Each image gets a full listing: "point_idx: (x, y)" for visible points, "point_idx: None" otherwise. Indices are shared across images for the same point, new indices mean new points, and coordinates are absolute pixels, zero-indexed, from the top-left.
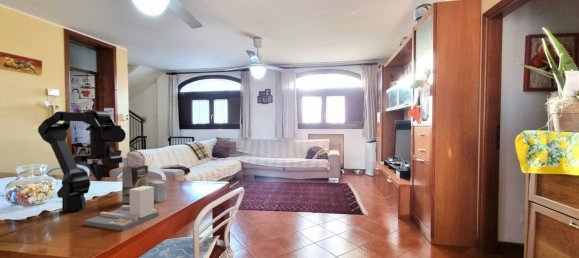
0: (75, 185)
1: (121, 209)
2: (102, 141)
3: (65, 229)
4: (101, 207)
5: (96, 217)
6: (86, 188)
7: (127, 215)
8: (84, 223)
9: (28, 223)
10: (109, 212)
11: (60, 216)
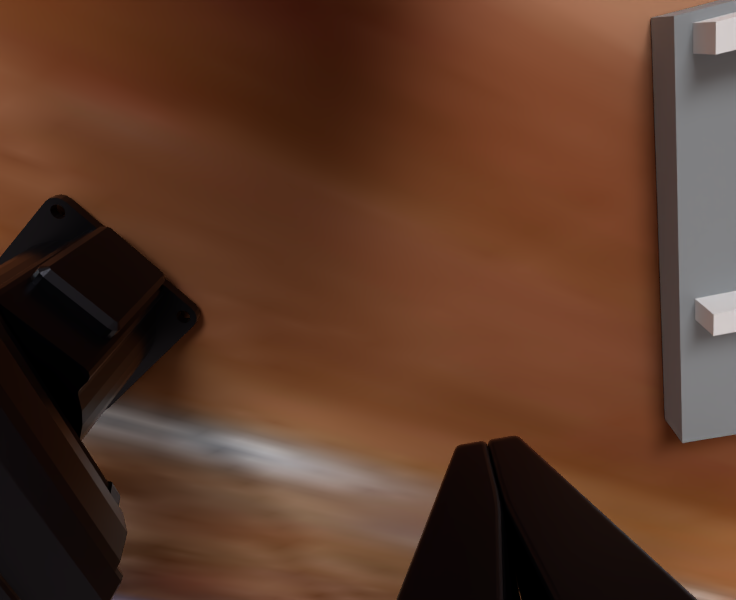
0: (95, 589)
1: (724, 74)
2: None
3: (625, 511)
4: (213, 91)
5: (710, 360)
6: (11, 345)
7: None
8: (672, 426)
9: (232, 574)
10: (685, 218)
11: (227, 429)
